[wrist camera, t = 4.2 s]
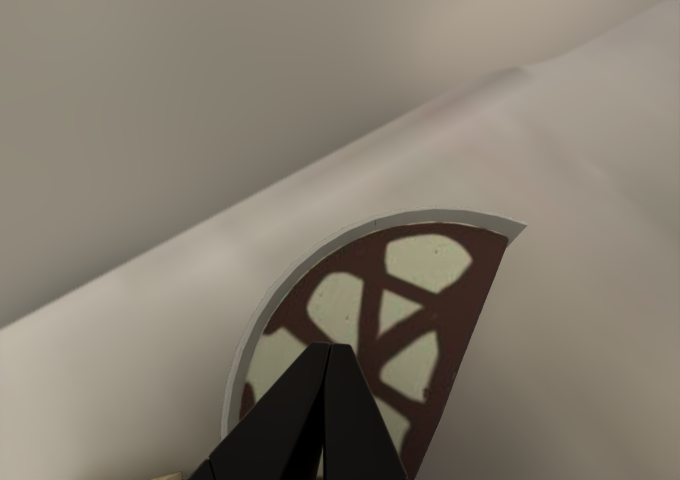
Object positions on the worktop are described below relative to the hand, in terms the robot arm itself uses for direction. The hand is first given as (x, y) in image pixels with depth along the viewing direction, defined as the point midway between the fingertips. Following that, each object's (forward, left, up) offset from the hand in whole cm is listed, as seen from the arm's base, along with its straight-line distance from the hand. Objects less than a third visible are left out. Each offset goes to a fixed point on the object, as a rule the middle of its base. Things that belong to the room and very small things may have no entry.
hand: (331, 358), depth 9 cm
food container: (0, 0, -12) cm, 12 cm away
